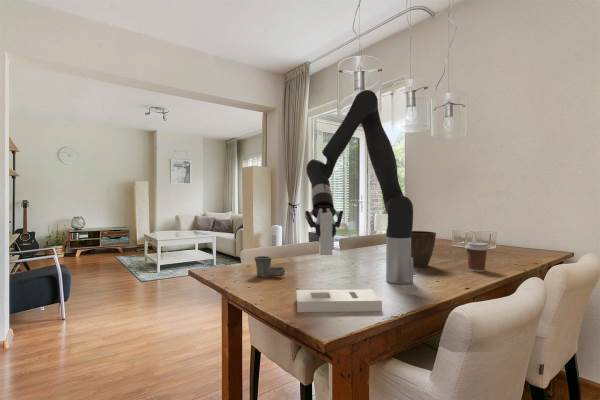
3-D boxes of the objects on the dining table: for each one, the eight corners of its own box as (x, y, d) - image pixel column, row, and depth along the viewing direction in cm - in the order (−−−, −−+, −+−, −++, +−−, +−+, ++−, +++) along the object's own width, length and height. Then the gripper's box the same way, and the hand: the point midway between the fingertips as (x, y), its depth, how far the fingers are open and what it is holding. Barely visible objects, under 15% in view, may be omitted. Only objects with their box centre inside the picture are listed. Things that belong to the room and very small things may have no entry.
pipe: (282, 279, 124) (282, 259, 124) (251, 277, 127) (251, 258, 127) (285, 275, 130) (285, 256, 130) (256, 274, 133) (256, 255, 133)
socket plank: (371, 298, 100) (371, 289, 100) (382, 311, 89) (382, 300, 89) (296, 299, 99) (296, 290, 99) (297, 312, 88) (297, 301, 88)
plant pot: (396, 264, 152) (396, 231, 152) (417, 261, 160) (417, 230, 160) (421, 270, 139) (421, 234, 139) (443, 266, 147) (443, 232, 147)
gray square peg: (330, 252, 108) (330, 212, 108) (332, 255, 104) (332, 212, 104) (319, 253, 108) (319, 212, 108) (320, 255, 104) (320, 213, 104)
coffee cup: (491, 272, 135) (491, 245, 135) (467, 271, 137) (467, 244, 137) (485, 268, 144) (485, 242, 144) (463, 267, 146) (463, 241, 146)
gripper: (303, 191, 113) (305, 228, 101) (342, 191, 113) (349, 228, 101) (302, 206, 118) (304, 242, 106) (340, 205, 119) (346, 242, 107)
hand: (326, 235), depth 104 cm, fingers closed on gray square peg, 4 cm apart
